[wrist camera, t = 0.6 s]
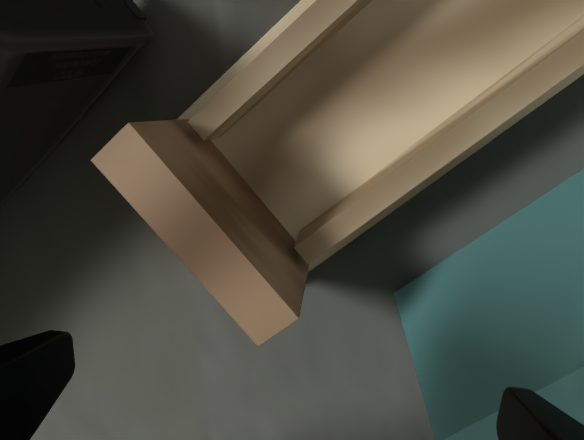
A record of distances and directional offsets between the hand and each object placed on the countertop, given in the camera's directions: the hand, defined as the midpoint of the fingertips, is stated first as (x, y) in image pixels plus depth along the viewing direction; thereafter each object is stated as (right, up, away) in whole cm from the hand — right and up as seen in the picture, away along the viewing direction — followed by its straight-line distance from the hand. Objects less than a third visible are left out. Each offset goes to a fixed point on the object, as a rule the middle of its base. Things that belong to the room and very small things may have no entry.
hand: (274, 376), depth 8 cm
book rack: (+5, +10, +10) cm, 15 cm away
